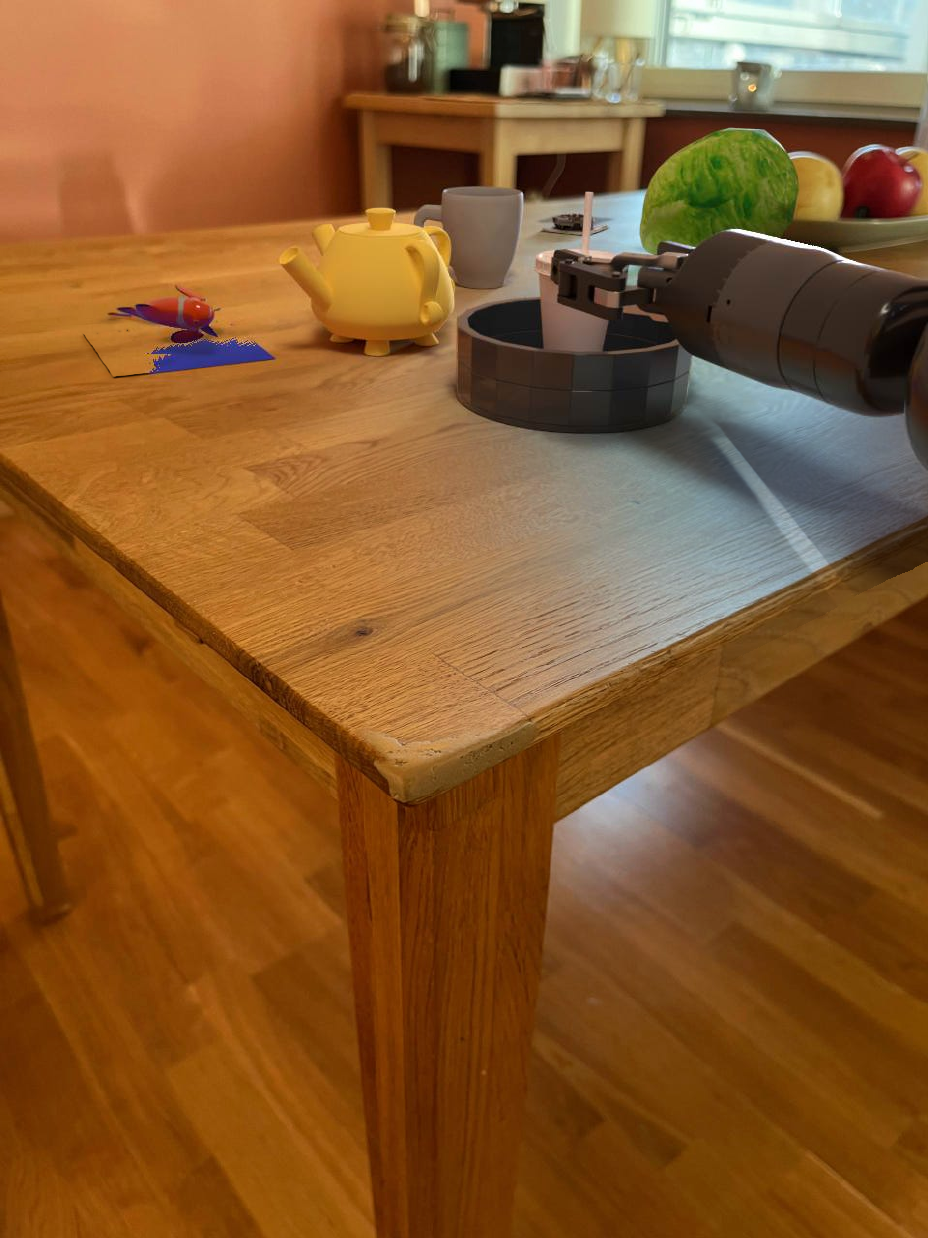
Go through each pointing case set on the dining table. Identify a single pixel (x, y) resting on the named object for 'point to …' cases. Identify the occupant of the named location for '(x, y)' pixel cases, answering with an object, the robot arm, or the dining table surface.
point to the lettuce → (720, 190)
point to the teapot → (377, 281)
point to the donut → (572, 224)
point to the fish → (190, 333)
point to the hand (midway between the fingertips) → (609, 260)
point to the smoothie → (561, 321)
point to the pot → (568, 372)
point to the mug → (479, 232)
